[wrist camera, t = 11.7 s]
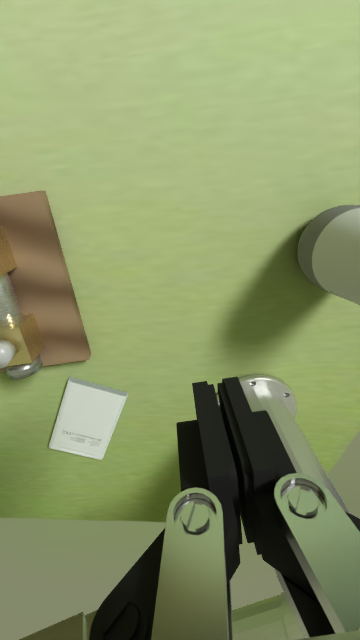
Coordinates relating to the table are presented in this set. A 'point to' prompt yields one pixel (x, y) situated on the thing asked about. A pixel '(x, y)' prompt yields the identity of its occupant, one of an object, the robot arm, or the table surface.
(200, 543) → the robot arm
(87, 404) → the external hard drive
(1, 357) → the black valve lever
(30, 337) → the steel pipe with valves
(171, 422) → the table surface
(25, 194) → the pipe board
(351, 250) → the smart speaker
